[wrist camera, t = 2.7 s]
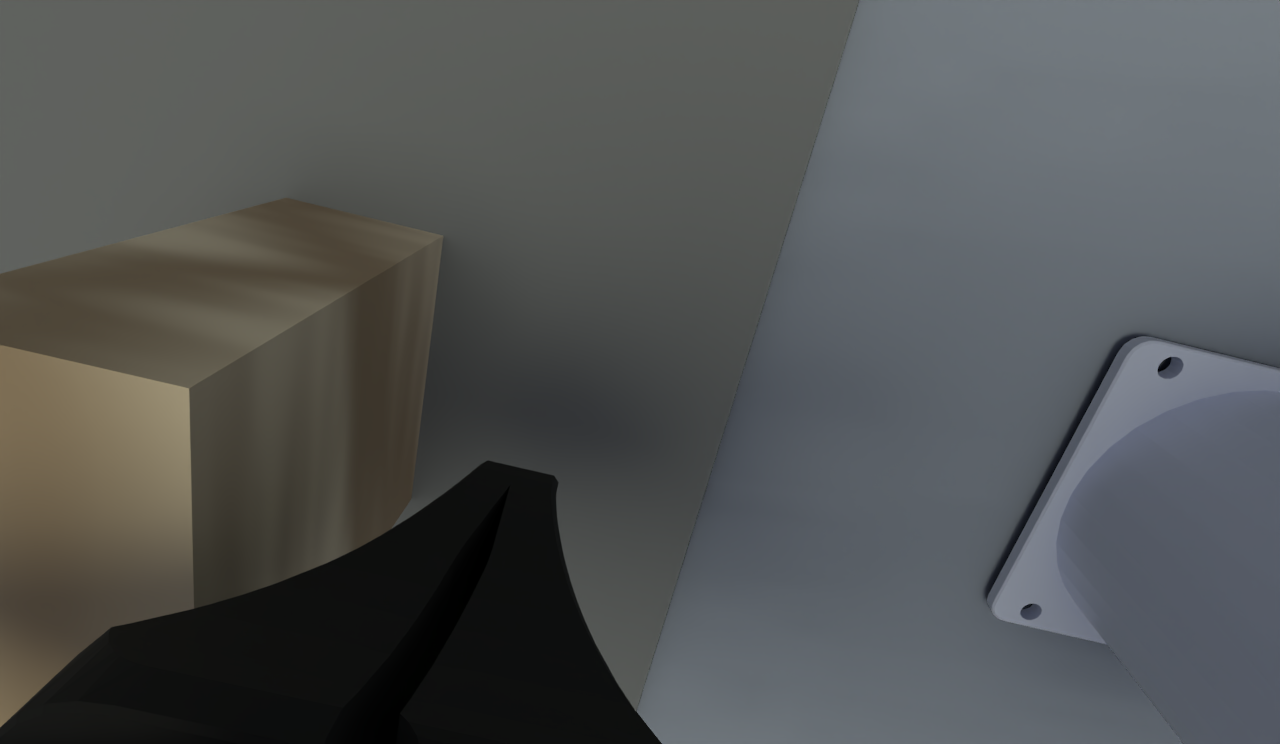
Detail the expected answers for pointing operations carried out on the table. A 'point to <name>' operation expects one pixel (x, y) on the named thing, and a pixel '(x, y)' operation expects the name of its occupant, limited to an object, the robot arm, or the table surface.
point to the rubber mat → (473, 211)
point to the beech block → (201, 418)
